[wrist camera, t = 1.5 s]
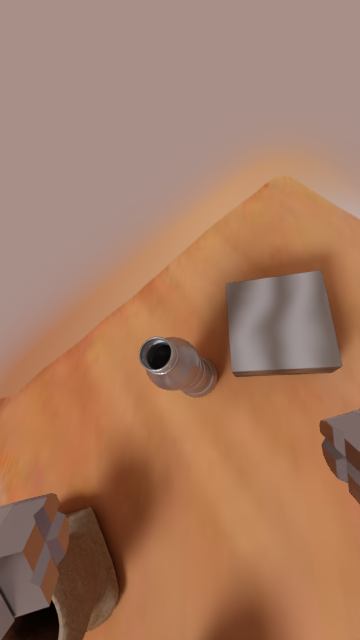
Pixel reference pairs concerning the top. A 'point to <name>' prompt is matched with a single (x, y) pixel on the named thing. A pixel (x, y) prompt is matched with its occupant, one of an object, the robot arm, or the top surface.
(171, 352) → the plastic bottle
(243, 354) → the metal riser
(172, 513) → the top surface
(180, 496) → the top surface
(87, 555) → the brown boot
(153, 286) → the top surface
